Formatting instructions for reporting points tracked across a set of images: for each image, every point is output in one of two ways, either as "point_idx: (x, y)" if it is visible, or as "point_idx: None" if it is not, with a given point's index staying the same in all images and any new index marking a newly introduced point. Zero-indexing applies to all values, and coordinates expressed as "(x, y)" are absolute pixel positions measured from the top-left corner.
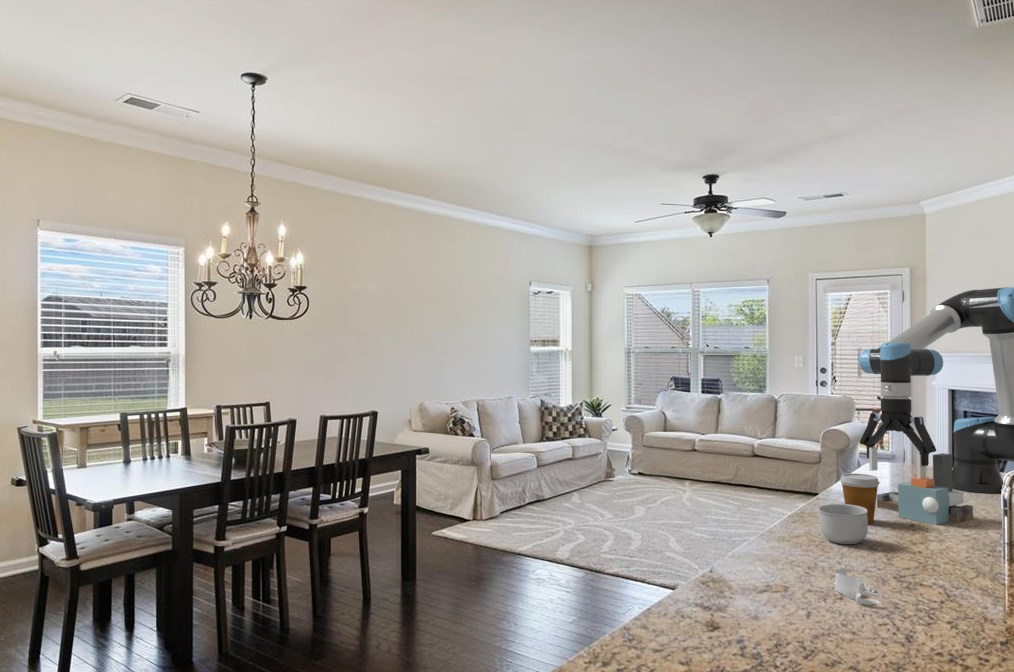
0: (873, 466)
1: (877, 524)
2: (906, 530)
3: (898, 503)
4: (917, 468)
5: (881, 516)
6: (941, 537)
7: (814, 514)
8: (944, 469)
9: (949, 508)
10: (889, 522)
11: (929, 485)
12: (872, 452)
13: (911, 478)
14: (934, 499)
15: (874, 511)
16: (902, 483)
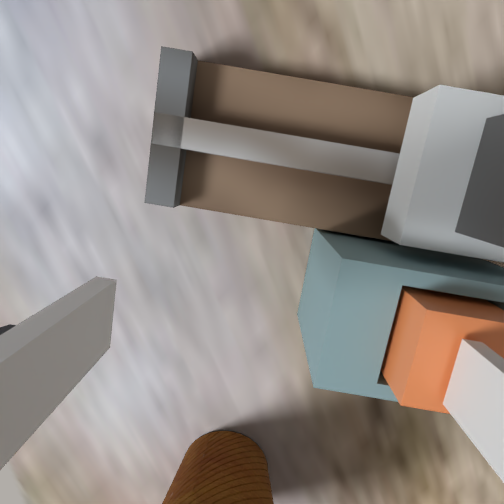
0: (99, 343)
1: (285, 469)
2: (385, 481)
3: (250, 198)
4: (481, 453)
5: (246, 348)
6: (497, 491)
7: (72, 481)
8: None
9: None
10: (303, 416)
11: None
12: (28, 427)
13: (403, 405)
14: None
15: (271, 491)
16: (324, 350)
